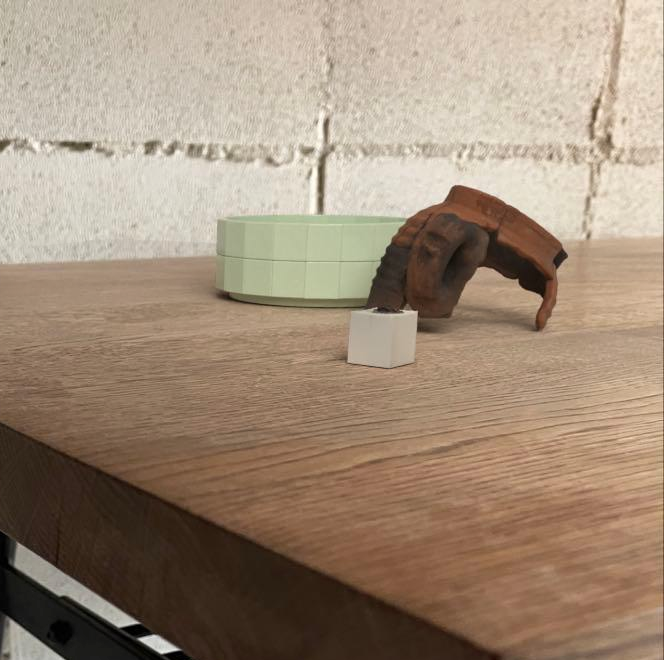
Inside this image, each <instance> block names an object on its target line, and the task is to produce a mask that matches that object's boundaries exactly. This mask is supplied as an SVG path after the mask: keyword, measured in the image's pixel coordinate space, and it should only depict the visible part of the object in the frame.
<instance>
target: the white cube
mask: <svg viewBox="0 0 664 660" xmlns="http://www.w3.org/2000/svg"><path fill="white" fill-rule="evenodd" d="M417 331H418V311H413V310H405V309H403V310H395V309H394V308H393V307H392V306H390V305H386V307H384V306H381V307H378V308H372V309H368V310H352V311H350V319H349V332H348V346H347V347H348V348H347V361H346V362H347V364H354V365H361V366H369V367H377V368H385V369H392V368H396V367H397V368H398V367H401V366H405V365H408V364H413V363H415V355H416V344H417V343H416V342H417V333H418V332H417Z"/></svg>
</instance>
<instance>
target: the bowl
mask: <svg viewBox="0 0 664 660" xmlns="http://www.w3.org/2000/svg"><path fill="white" fill-rule="evenodd" d="M408 218H409V217H404V216H388V215H387V216H386V215H364V214H363V215H361V214H359V215H358V214H356V215H355V214H250V215H249V214H245V215H230V216H221V217H217V220H216V246H215V247H216V250H215V251H216V255H215V284H214V285H215V288H216V289H217V290H220V291H223V292H227V293H228V295H229V297H230V299H233V300H236V301H239V302H244V303H252V304H258V305H268V306H278V307H279V306H281V307H299V308H301V307H302V308H358V307H359V308H361V307H363V308H364V307H365V306H366V304H367V300H368V297H369V294H370V289H371V286H372V279H373V278H374V277H375V276H376V269H377V268H378V267H379V266H380V264H381V257H383V256H384V255H385V252H386V247H387V246H389V245H390V243H391V239H392V237H393V236H394V235H396V234H397V233H398V229H399V228H400V227H401V226H403V225H404V224H405V223H406V221H407V219H408Z"/></svg>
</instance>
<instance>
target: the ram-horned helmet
mask: <svg viewBox="0 0 664 660" xmlns="http://www.w3.org/2000/svg"><path fill="white" fill-rule="evenodd" d="M407 218H408V219H407V221H406V223H405V224H404V225H403V226H401V227H400V228H399V229H398V233H397V234H396V235H394V236H393V237H392V239H391V243H390V245H389V246H387V247H386V252H385V255H384V256H383V257H381V264H380V266H379V267H378V268H377V269H376V276H375V277H374V278H373V279H372V286H371V289H370V294H369V297H368V300H367V304H366V306H363V310H368V309H372V308H378V307H381V306H384V307H386V305H390V306H392V307H393V308H394V309H395V310H405V307H406V305H407V304H408V306H409V308H410V309H411V311H418V316H417V318H420V319H450V318H451V317H452V315H453V311H454V308H455V307H456V306H457V305H458V303H459V301H460V298H461V296H462V293H463V291H464V290H465V287H466V285H467V283H468V282H469V281H470V280H471V279H472V278H473V276H474V275H475V274H476V272H477V269H480V268H486V269H491V270H494V271H495V272H497V273H498V274H499V275H502V277H504V278H505V279H509V280H514V281H518V285H519V287H521V288H522V289H523V290H525V291H527V292H531V293H534V294H537V295H539V296H540V297H541V298H542V301H541V304H540V306H539V308H538V310H537V312H536V315H535V320H534V325H535V327H536V329H537V331H540V330H543V329H544V328H545V327H546V326H547V322H548V320H549V319H550V318H551V317H552V315H553V314H552V313H553V310H554V308H555V306H556V305H557V295H558V289H559V288H558V286H559V281H558V275H557V274H558V273H557V270H558V269H559V268H560V267H561V265H562V264H563V263H564V261H565V260H566V259H568V258H569V255H568V253H567V252H566V250H565V249H564V247H563V244H562V242H561V241H560V240H559V239H558V238H556V236H554V235H553V234H551V232H549V231H548V230H547V229H546V228H545V227H544V226H542V225H540V224H539V223H538V222H537V221H536V220H534V219H533V218H531V217H529V216H528V215H527V214H526V213H524V212H522V211H520V209H518V208H516V207H515V206H513V205H510V204H508V203H506V202H505V201H504V200H502V199H501V198H499V197H496V196H494V195H492V194H490V193H487V192H484V191H482V190H479V189H477V188H473V187H469V186H466V185H463V184H454V185H452V187H451V188H450V189H449V192H448V194H447V196H446V197H445V198H444V200H443V201H442V202H440V203H437V204H432V205H429V206H428V207H426V208H423V209H420V210H418V211H417V212H416V213H415V214H413V215H412V216H410V217H407Z"/></svg>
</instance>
